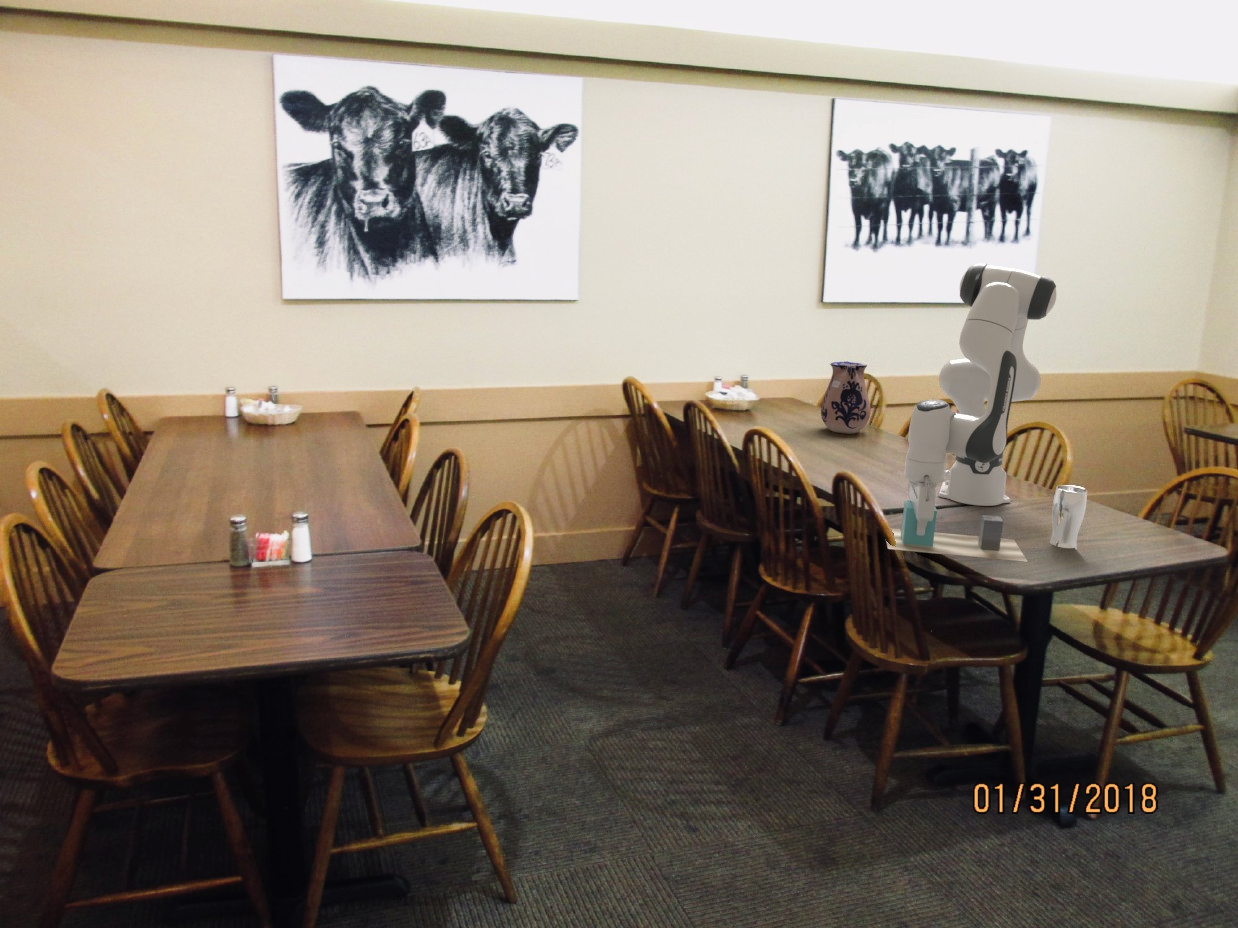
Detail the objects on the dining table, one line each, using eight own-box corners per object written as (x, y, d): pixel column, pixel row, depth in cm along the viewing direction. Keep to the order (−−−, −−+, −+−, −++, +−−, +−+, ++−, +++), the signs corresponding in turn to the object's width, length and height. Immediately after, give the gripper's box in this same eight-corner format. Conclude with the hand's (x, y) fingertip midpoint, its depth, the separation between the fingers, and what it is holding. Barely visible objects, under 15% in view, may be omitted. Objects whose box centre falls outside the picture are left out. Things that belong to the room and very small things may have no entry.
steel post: (978, 543, 222) (981, 515, 220) (996, 545, 221) (999, 516, 219) (980, 549, 218) (984, 520, 216) (999, 550, 217) (1003, 521, 215)
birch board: (882, 533, 232) (883, 527, 231) (1013, 545, 226) (1013, 539, 226) (887, 554, 216) (887, 548, 216) (1026, 568, 211) (1027, 561, 210)
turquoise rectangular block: (900, 535, 226) (904, 500, 224) (929, 537, 225) (933, 502, 223) (903, 543, 220) (907, 508, 218) (932, 546, 219) (937, 510, 217)
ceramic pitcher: (827, 436, 340) (833, 366, 334) (811, 424, 360) (816, 358, 354) (875, 437, 342) (881, 367, 335) (856, 425, 362) (862, 359, 356)
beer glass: (1063, 556, 220) (1073, 493, 216) (1039, 546, 226) (1048, 486, 222) (1085, 553, 222) (1095, 491, 219) (1061, 543, 228) (1070, 483, 225)
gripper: (944, 483, 208) (937, 543, 211) (933, 461, 227) (927, 517, 231) (914, 481, 209) (908, 540, 212) (906, 459, 228) (900, 514, 232)
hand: (918, 528), depth 222 cm, fingers open, 8 cm apart
